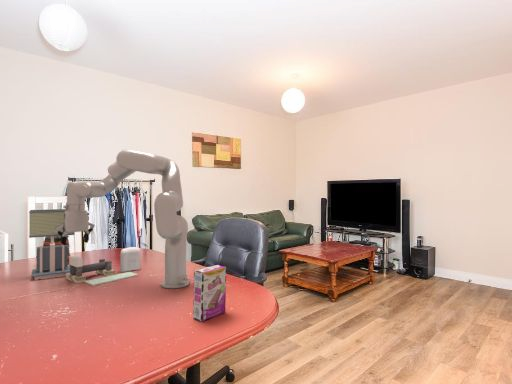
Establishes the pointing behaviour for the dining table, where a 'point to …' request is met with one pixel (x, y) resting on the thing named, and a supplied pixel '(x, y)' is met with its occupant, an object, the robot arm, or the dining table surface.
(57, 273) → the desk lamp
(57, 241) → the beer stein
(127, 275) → the mat
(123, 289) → the dining table surface
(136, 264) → the photo printer
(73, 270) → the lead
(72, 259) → the beige rectangular block
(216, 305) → the candy bar box
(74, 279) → the clamp board
